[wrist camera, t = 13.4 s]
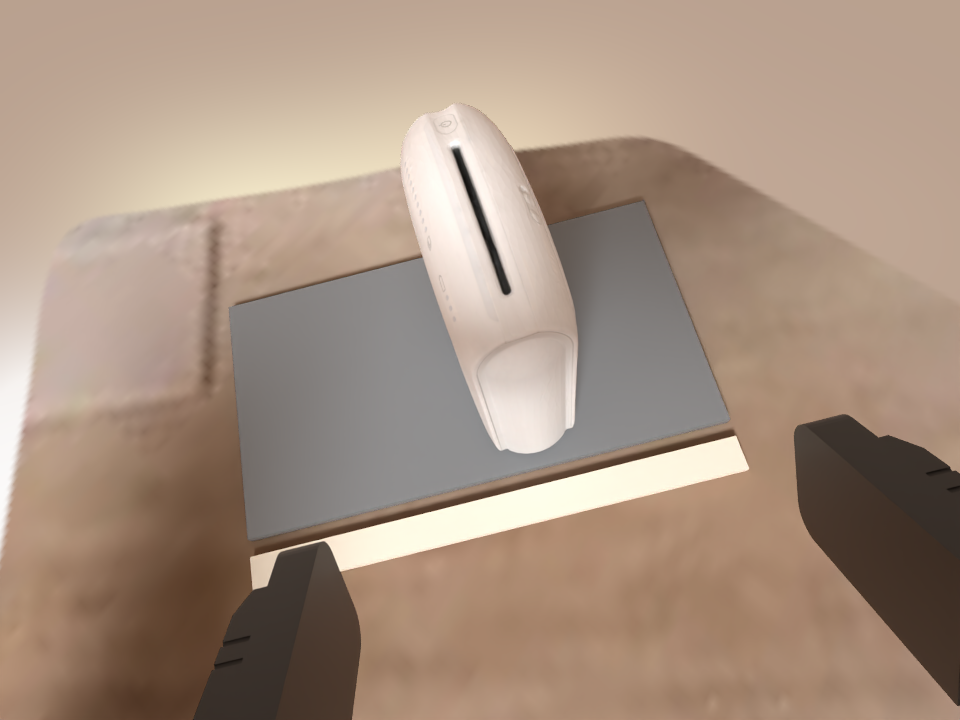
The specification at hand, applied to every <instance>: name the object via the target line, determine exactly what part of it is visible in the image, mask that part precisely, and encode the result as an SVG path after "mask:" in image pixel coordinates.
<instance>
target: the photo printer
mask: <svg viewBox="0 0 960 720" xmlns="http://www.w3.org/2000/svg"><path fill="white" fill-rule="evenodd" d="M401 177H402V183H403V188H404V192H405V196H406V200H407V204H408V208H409V212H410V216H411V219H412V223H413V227H414V230H415V233H416V237H417V240H418V243H419V247H420V250H421V253H422V256H423V259H424V263H425V266H426V269H427V272H428V275H429V278H430V281H431V284H432V287H433V290H434V293H435V296H436V299H437V302H438V305H439V308H440V310H441V313H442V316H443V319H444V322H445V325H446V327H447V330H448V333H449V336H450V338H451V341H452V344H453V347H454V349H455V352H456V355H457V358H458V361H459V364H460V366H461V369H462V371H463V374H464V377H465V379H466V382H467V385H468V387H469V390H470V392H471V395H472V397H473V400H474V402H475V405H476V407H477V410H478V412H479V414H480V417H481V419H482V421H483V424H484V426H485V428H486V430H487V432H488V434H489V436H490V438H491V439H492V441H493V443H494V444H495V446H496V447H497V448H498V449H499V450H500V451H502V450H504V449H509V450H510V451H513V452H516V453H523V454H528V453H536V452H540V451H543V450H545V449H547V448H549V447H551V446H552V445H554V444H555V443H556V442H557V441H558V440H559V439H560V438H561V437H562V436H563V434H564V432H565V430H566V429H569V428H572V427H573V425H574V422H575V399H576V377H577V357H578V333H577V325H576V317H575V309H574V304H573V300H572V297H571V293H570V290H569V286H568V283H567V280H566V277H565V274H564V271H563V268H562V265H561V262H560V259H559V256H558V253H557V250H556V248H555V245H554V242H553V239H552V237H551V234H550V231H549V229H548V226H547V224H546V221H545V219H544V216H543V213H542V211H541V209H540V206H539V204H538V202H537V199H536V197H535V195H534V192H533V190H532V188H531V186H530V183H529V181H528V179H527V177H526V175H525V172H524V170H523V168H522V166H521V164H520V162H519V160H518V158H517V156H516V154H515V152H514V150H513V148H512V147H511V145H509V143H508V142H507V140H506V138H505V137H504V136H503V134H502V133H501V131H500V130H499V129H498V128H497V126H496V125H495V124H494V123H493V122H492V121H491V120H490V119H489V118H488V117H487V116H486V115H485V114H483V113H482V112H481V111H480V110H478V109H476V108H474V107H472V106H469V105H465V104H462V103H455V104H452V105H450V106H449V107H447V108H446V109H443V110H441V111H438V112H433V113H425V114H423V115H422V116H420V117H419V118H418V119H417V120H416V121H415V122H414V123H413V124H412V126H411V127H410V129H409V130H408V132H407V133H406V135H405V137H404V140H403V143H402V151H401Z"/></svg>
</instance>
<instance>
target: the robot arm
mask: <svg viewBox="0 0 960 720" xmlns="http://www.w3.org/2000/svg"><path fill="white" fill-rule="evenodd" d="M794 446H795V461H796V476H797V491H798V503H799V509H800V513H801V516H802V519H803V522H804V524H805V526H806V528H807V530H808V532H809V534H810V535H811V537H812V538H813V540H814V541H815V542H816V543H817V544H818V546H819V547H820V548H821V549H822V550H823V551H824V552H825V554H826V555H827V556H828V557H829V558H830V559H831V561H832V562H833V563H834V564H835V565H836V566H837V568H838V569H839V570H840V571H841V572H842V573H843V574H844V576H845V577H846V578H847V579H848V580H849V581H850V583H851V584H852V585H853V586H854V587H855V588H856V589H857V591H858V592H859V593H860V594H861V595H862V596H863V598H864V599H865V600H866V601H867V602H868V603H869V604H870V606H871V607H872V608H873V609H874V610H875V611H876V613H877V614H878V615H879V616H880V617H881V618H882V619H883V621H884V622H885V623H886V624H887V625H888V626H889V628H890V629H891V630H892V631H893V632H894V633H895V634H896V636H897V637H898V638H899V639H900V640H901V641H902V643H903V644H904V645H905V646H906V647H907V648H908V650H909V651H910V652H911V653H912V654H913V655H914V656H915V658H916V659H917V660H918V661H919V662H920V663H921V665H922V666H923V667H924V668H925V669H926V670H927V671H928V673H929V674H930V675H931V676H932V677H933V678H934V680H935V681H936V682H937V683H938V684H939V685H940V686H941V688H942V689H943V690H944V691H945V692H946V693H947V695H948V696H949V697H950V698H951V699H952V700H953V701H954V703H955V704H956V705H957V706H960V473H958V472H957V471H951V469H950V466H948V465H947V464H945V463H944V462H943V461H941V460H940V459H938V458H937V457H936V456H934V455H933V454H931V453H930V452H929V451H927V450H926V449H924V448H922V447H919V446H917V445H914V444H911V443H908V442H906V441H903V440H900V439H898V438H895V437H892V436H889V435H888V436H883V437H879V438H878V437H877V436H876V435H874V434H873V433H872V432H870V431H869V430H868V429H866V428H865V427H864V426H862V425H861V424H860V423H859V422H857V421H856V420H855V419H853V418H852V417H850V416H849V415H846V414H842V415H838V416H834V417H830V418H826V419H822V420H818V421H814V422H810V423H806V424H802V425H798V426H797V427H796V429H795V432H794ZM360 649H361V634H360V626H359V621H358V616H357V613H356V610H355V607H354V604H353V602H352V599H351V597H350V595H349V592H348V590H347V587H346V585H345V582H344V580H343V577H342V575H341V572H340V570H339V567H338V565H337V562H336V560H335V558H334V555H333V553H332V550H331V548H330V547H329V545H328V544H327V543H326V542H325V541H322V542H318V543H314V544H309V545H305V546H301V547H297V548H293V549H289V550H285V551H281V552H280V553H279V554H278V556H277V558H276V561H275V564H274V567H273V570H272V573H271V576H270V579H269V582H268V585H267V586H266V587H262V588H258V589H254V590H253V591H252V592H251V593H250V595H249V596H248V597H247V598H246V600H245V601H244V602H243V603H242V605H241V606H240V607H239V608H238V610H237V611H236V612H235V613H234V615H233V616H232V619H231V621H230V624H229V627H228V629H227V632H226V635H225V637H224V640H223V647H221V648H220V650H219V653H218V656H217V658H216V661H215V664H214V666H215V670H212V671H211V674H210V677H209V679H208V682H207V685H206V687H205V690H204V692H203V695H202V698H201V700H200V703H199V706H198V708H197V711H196V713H195V716H194V719H193V720H352V713H353V705H354V697H355V689H356V682H357V674H358V666H359V658H360Z"/></svg>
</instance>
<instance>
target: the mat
mask: <svg viewBox="0 0 960 720" xmlns="http://www.w3.org/2000/svg"><path fill="white" fill-rule="evenodd" d="M547 226H548V229H549V231H550V234H551V237H552V239H553V242H554V245H555V248H556V250H557V253H558V256H559V259H560V262H561V265H562V268H563V271H564V274H565V277H566V280H567V283H568V286H569V290H570V293H571V297H572V300H573V304H574V309H575V317H576V325H577V333H578V357H577V377H576V399H575V422H574V425H573V427H572V428H569V429H566V430H565V432H564V434H563V436H562V437H561V438H560V439H559V440H558V441H557V442H556V443H555V444H554V445H552V446H551V447H549V448H547V449H545V450H543V451H540V452H536V453H528V454H523V453H516V452H513V451H510V450H509V449H504V450H502V451H500V450H499V449H498V448H497V447H496V446H495V444H494V443H493V441H492V439H491V438H490V436H489V434H488V432H487V430H486V428H485V426H484V424H483V421H482V419H481V417H480V414H479V412H478V410H477V407H476V405H475V402H474V400H473V397H472V395H471V392H470V390H469V387H468V385H467V382H466V379H465V377H464V374H463V371H462V369H461V366H460V364H459V361H458V358H457V355H456V352H455V349H454V347H453V344H452V341H451V338H450V336H449V333H448V330H447V327H446V325H445V322H444V319H443V316H442V313H441V310H440V308H439V305H438V302H437V299H436V296H435V293H434V290H433V287H432V284H431V281H430V278H429V275H428V272H427V269H426V266H425V263H424V259H423V257H422V258H418V259H414V260H410V261H407V262H403V263H399V264H395V265H391V266H387V267H383V268H379V269H375V270H372V271H368V272H364V273H360V274H356V275H352V276H348V277H344V278H340V279H337V280H333V281H329V282H325V283H321V284H317V285H313V286H309V287H305V288H302V289H298V290H294V291H290V292H286V293H282V294H278V295H274V296H270V297H267V298H263V299H259V300H255V301H251V302H247V303H243V304H239V305H235V306H232V307H229V317H230V330H231V342H232V354H233V366H234V379H235V391H236V403H237V415H238V428H239V440H240V452H241V464H242V477H243V489H244V501H245V513H246V525H247V538H248V540H250V541H255V540H259V539H263V538H267V537H271V536H275V535H279V534H283V533H287V532H291V531H295V530H299V529H303V528H307V527H311V526H315V525H319V524H323V523H327V522H331V521H335V520H339V519H343V518H347V517H351V516H355V515H359V514H363V513H367V512H371V511H375V510H379V509H383V508H387V507H391V506H395V505H399V504H403V503H407V502H411V501H415V500H419V499H423V498H427V497H431V496H435V495H439V494H443V493H447V492H451V491H455V490H459V489H463V488H467V487H471V486H475V485H479V484H483V483H487V482H491V481H495V480H499V479H503V478H507V477H511V476H515V475H519V474H523V473H527V472H531V471H535V470H539V469H543V468H547V467H551V466H555V465H559V464H563V463H567V462H571V461H575V460H579V459H583V458H587V457H591V456H595V455H599V454H603V453H607V452H611V451H615V450H619V449H623V448H627V447H631V446H635V445H639V444H643V443H647V442H651V441H655V440H659V439H663V438H667V437H671V436H675V435H679V434H683V433H687V432H691V431H695V430H699V429H703V428H707V427H711V426H715V425H719V424H723V423H727V422H728V421H729V420H730V417H729V415H728V412H727V410H726V407H725V405H724V402H723V400H722V397H721V395H720V392H719V389H718V387H717V384H716V382H715V379H714V377H713V374H712V372H711V369H710V367H709V364H708V362H707V359H706V357H705V354H704V352H703V349H702V347H701V344H700V341H699V339H698V336H697V334H696V331H695V329H694V326H693V324H692V321H691V319H690V316H689V314H688V311H687V309H686V306H685V304H684V301H683V299H682V296H681V294H680V291H679V288H678V286H677V283H676V281H675V278H674V276H673V273H672V271H671V268H670V266H669V263H668V261H667V258H666V256H665V253H664V251H663V248H662V246H661V243H660V240H659V238H658V235H657V233H656V230H655V228H654V225H653V223H652V220H651V218H650V215H649V213H648V210H647V208H646V205H645V203H644V201H640V202H636V203H632V204H628V205H624V206H620V207H617V208H613V209H609V210H605V211H601V212H597V213H593V214H589V215H585V216H582V217H578V218H574V219H570V220H566V221H562V222H558V223H554V224H550V225H547ZM748 469H749V467H748V465H747V462H746V460H745V457H744V455H743V452H742V450H741V447H740V445H739V442H738V440H737V437H736V436H733V437H729V438H725V439H721V440H717V441H713V442H709V443H704V444H700V445H696V446H692V447H688V448H684V449H680V450H676V451H672V452H668V453H664V454H660V455H656V456H652V457H648V458H644V459H640V460H636V461H632V462H628V463H624V464H620V465H616V466H612V467H608V468H604V469H600V470H596V471H592V472H588V473H584V474H580V475H576V476H572V477H568V478H564V479H560V480H556V481H552V482H548V483H544V484H540V485H536V486H532V487H528V488H524V489H520V490H516V491H512V492H508V493H504V494H500V495H496V496H492V497H488V498H484V499H480V500H476V501H472V502H468V503H464V504H460V505H456V506H452V507H448V508H444V509H440V510H436V511H432V512H428V513H424V514H420V515H416V516H412V517H408V518H404V519H400V520H396V521H392V522H388V523H384V524H380V525H376V526H372V527H368V528H364V529H360V530H356V531H352V532H348V533H344V534H340V535H336V536H332V537H328V538H324V539H320V540H316V541H312V542H308V543H304V544H300V545H296V546H292V547H288V548H284V549H280V550H276V551H272V552H268V553H264V554H260V555H256V556H252V557H250V563H251V575H252V587H253V590H254V589H258V588H262V587H266V586H267V585H268V582H269V579H270V576H271V573H272V570H273V567H274V564H275V561H276V558H277V556H278V554H279V553H280V552H281V551H285V550H289V549H293V548H297V547H301V546H305V545H309V544H314V543H318V542H322V541H325V542H326V543H327V544H328V545H329V547H330V548H331V550H332V553H333V555H334V558H335V560H336V562H337V565H338V567H339V570H340V572H341V571H345V570H349V569H353V568H357V567H361V566H365V565H369V564H373V563H377V562H381V561H385V560H390V559H394V558H398V557H402V556H406V555H410V554H414V553H418V552H422V551H426V550H430V549H434V548H438V547H442V546H446V545H450V544H454V543H458V542H462V541H466V540H470V539H474V538H478V537H482V536H486V535H490V534H494V533H498V532H502V531H506V530H510V529H514V528H518V527H522V526H526V525H530V524H534V523H538V522H542V521H546V520H550V519H554V518H558V517H562V516H566V515H570V514H574V513H578V512H582V511H586V510H591V509H595V508H599V507H603V506H607V505H611V504H615V503H619V502H623V501H627V500H631V499H635V498H639V497H643V496H647V495H651V494H655V493H659V492H663V491H667V490H671V489H675V488H679V487H683V486H687V485H691V484H695V483H699V482H703V481H707V480H711V479H715V478H719V477H723V476H727V475H731V474H735V473H739V472H743V471H747V470H748Z"/></svg>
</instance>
